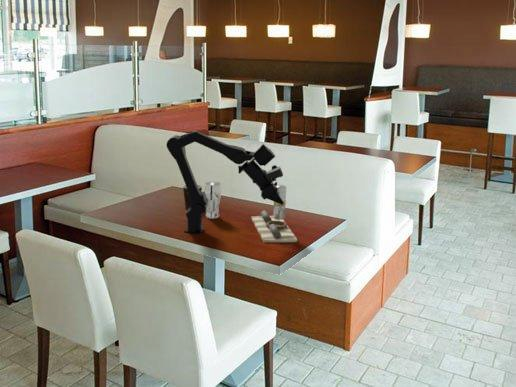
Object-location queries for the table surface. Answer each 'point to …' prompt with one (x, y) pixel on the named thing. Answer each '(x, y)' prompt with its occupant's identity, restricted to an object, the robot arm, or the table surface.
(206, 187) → the beer glass
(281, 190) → the metal cup
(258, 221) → the shaft board
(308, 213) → the table surface
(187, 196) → the coffee mug
